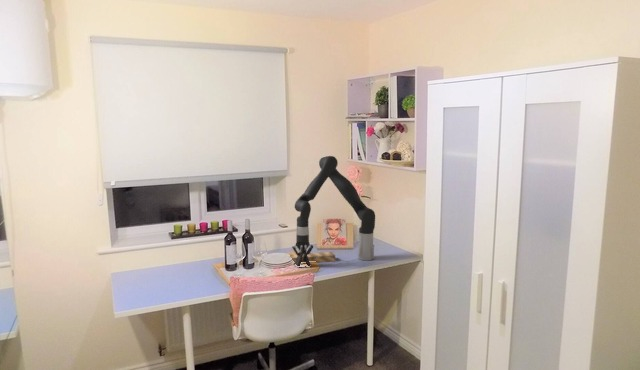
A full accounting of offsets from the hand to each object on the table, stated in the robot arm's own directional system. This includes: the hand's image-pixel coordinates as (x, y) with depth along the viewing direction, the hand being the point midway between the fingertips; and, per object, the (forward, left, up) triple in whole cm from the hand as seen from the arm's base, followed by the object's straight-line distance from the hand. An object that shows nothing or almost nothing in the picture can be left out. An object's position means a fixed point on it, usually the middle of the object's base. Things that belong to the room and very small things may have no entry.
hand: (302, 261), depth 271 cm
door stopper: (0, 0, -3) cm, 3 cm away
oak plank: (-8, -9, -3) cm, 13 cm away
